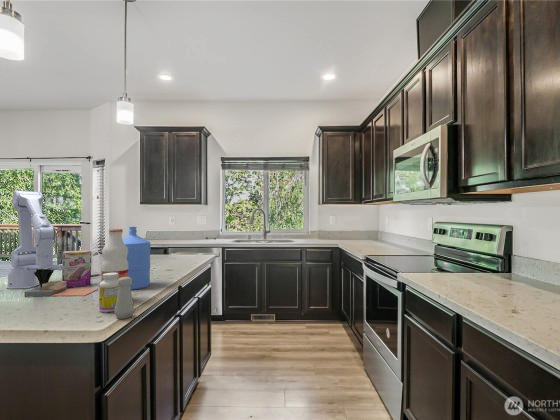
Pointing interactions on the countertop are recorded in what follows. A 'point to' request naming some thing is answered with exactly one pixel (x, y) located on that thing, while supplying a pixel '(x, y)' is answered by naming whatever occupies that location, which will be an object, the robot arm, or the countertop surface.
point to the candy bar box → (76, 268)
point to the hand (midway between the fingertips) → (43, 287)
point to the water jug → (138, 259)
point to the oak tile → (54, 285)
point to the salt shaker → (124, 299)
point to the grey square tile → (42, 292)
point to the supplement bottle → (108, 292)
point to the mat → (75, 292)
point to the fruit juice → (115, 255)
